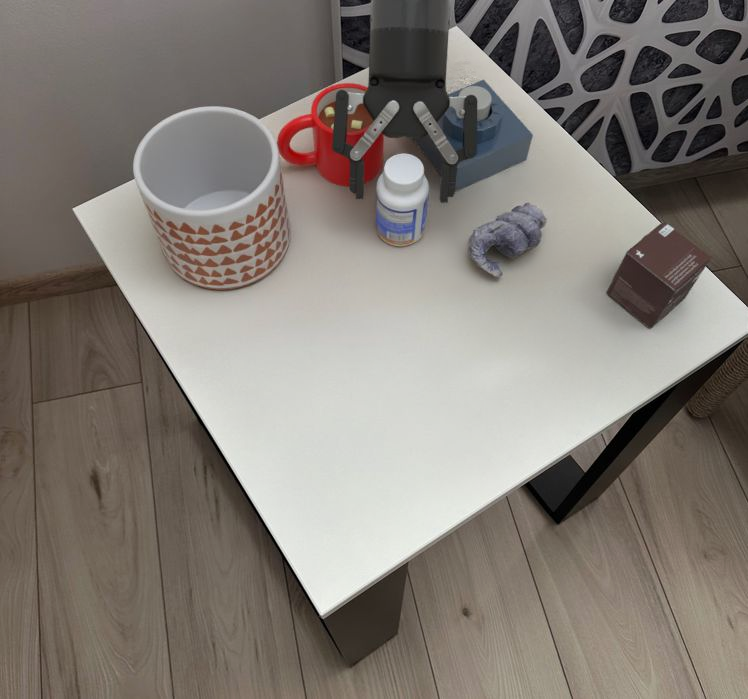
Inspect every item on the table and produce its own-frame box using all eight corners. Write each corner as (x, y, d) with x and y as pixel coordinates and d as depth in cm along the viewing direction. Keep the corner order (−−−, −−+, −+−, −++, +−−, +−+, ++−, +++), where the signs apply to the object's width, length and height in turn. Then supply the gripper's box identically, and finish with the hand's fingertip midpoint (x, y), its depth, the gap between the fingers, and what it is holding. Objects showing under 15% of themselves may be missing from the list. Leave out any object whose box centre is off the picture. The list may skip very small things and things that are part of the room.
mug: (273, 149, 90) (266, 97, 83) (372, 128, 91) (373, 76, 84) (288, 200, 86) (282, 150, 79) (391, 177, 88) (393, 127, 81)
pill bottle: (399, 200, 86) (403, 138, 78) (435, 228, 84) (442, 167, 76) (365, 227, 84) (364, 166, 76) (400, 256, 82) (404, 197, 74)
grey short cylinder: (477, 95, 86) (479, 81, 85) (495, 116, 85) (498, 101, 83) (450, 106, 86) (452, 92, 84) (468, 127, 84) (470, 113, 82)
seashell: (477, 285, 82) (534, 232, 86) (508, 280, 78) (567, 225, 81) (451, 243, 81) (510, 192, 85) (481, 236, 76) (542, 182, 80)
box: (649, 331, 78) (674, 291, 72) (603, 293, 80) (624, 252, 74) (686, 298, 80) (714, 257, 74) (641, 262, 82) (664, 219, 76)
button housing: (479, 105, 93) (486, 65, 88) (526, 159, 89) (536, 121, 84) (408, 134, 91) (411, 95, 86) (453, 192, 87) (459, 155, 82)
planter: (295, 191, 87) (284, 106, 75) (284, 294, 80) (271, 216, 69) (174, 188, 87) (145, 102, 76) (153, 290, 80) (119, 212, 69)
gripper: (332, 21, 70) (328, 201, 75) (488, 26, 70) (475, 207, 74) (337, 30, 77) (334, 194, 82) (479, 35, 77) (468, 199, 82)
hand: (401, 200), depth 78 cm, fingers open, 8 cm apart
